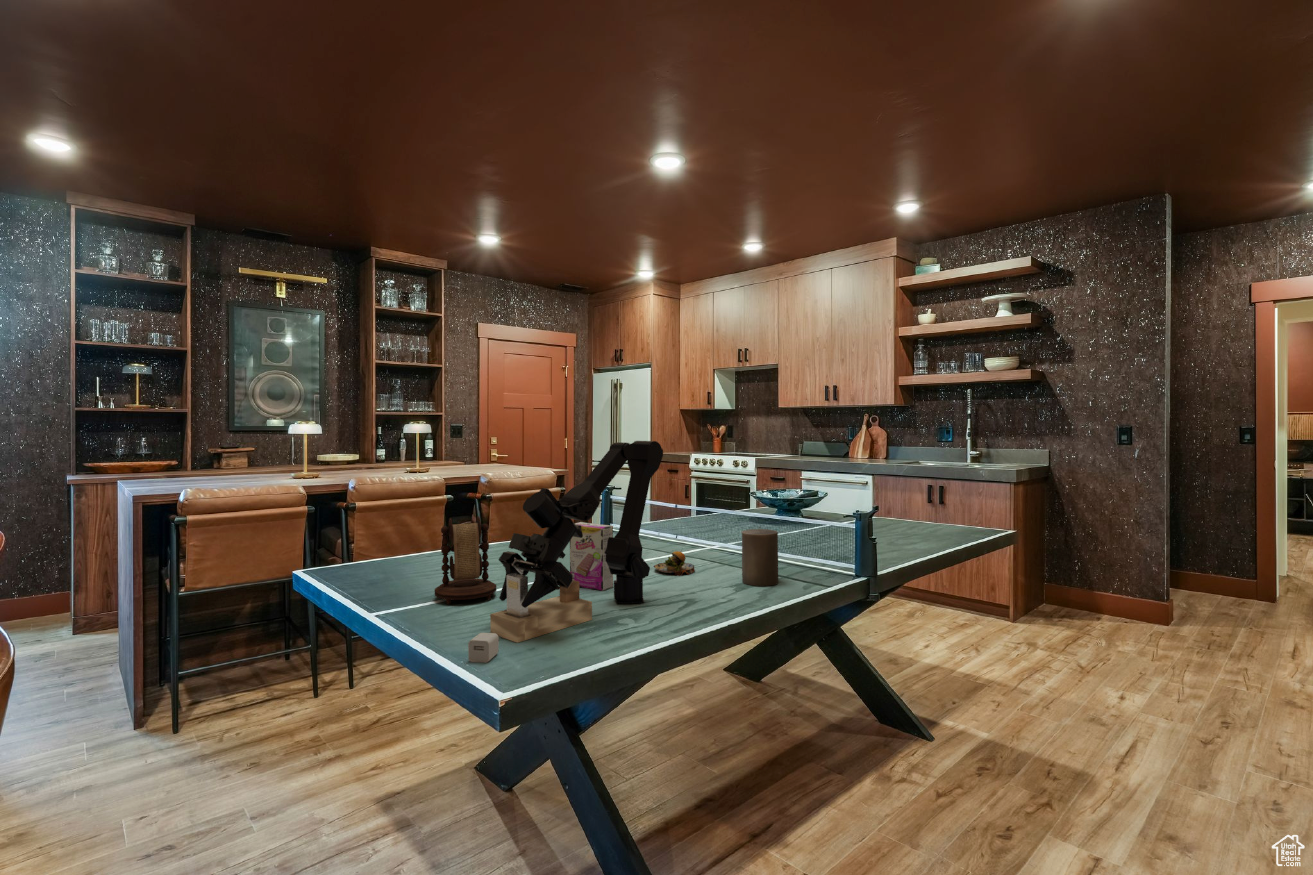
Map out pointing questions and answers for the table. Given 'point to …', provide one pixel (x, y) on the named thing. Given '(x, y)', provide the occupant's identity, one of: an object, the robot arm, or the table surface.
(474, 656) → the usb wall charger
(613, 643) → the table surface
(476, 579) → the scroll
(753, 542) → the pillar candle
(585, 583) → the candy bar box
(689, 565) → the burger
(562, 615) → the hand plane
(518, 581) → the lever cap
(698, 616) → the table surface
